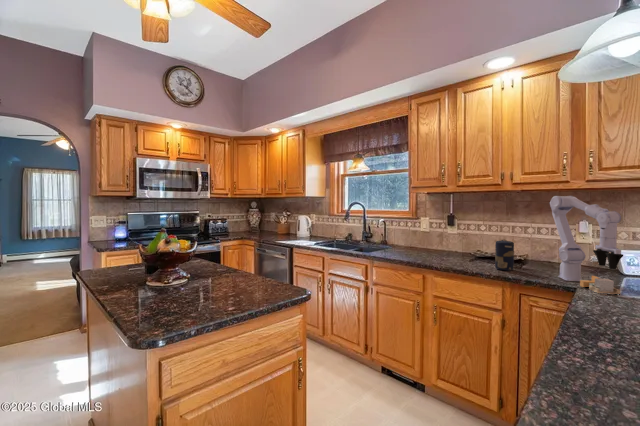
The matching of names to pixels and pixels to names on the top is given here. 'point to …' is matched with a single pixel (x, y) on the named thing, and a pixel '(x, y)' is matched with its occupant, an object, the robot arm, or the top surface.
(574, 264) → the robot arm
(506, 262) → the canister
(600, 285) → the grey block
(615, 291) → the tan flat bracket
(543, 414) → the top surface
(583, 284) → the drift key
